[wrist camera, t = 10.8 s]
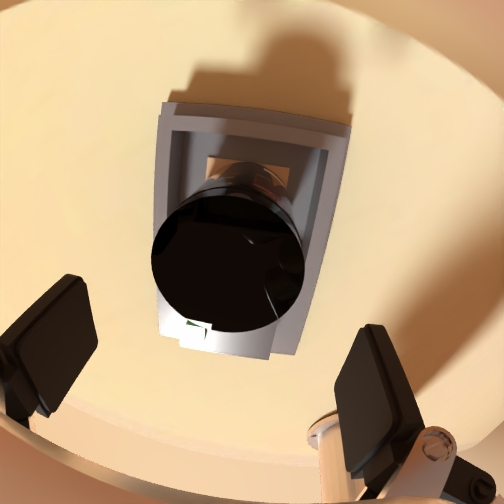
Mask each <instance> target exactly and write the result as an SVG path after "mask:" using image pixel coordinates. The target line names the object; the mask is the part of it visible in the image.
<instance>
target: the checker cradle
mask: <svg viewBox="0 0 504 504" xmlns="http://www.w3.org/2000/svg"><path fill="white" fill-rule="evenodd" d="M350 132H351V126H348V125H344V124H340V123H336V122H331V121H327V120H322V119H317V118H312V117H307V116H301V115H296V114H290V113H284V112H277V111H270V110H263V109H255V108H247V107H238V106H228V105H216V104H201V103H178V102H162V110H161V115H159V119H158V130H157V143H156V158H155V178H154V222H153V231H154V239H155V236H156V234H157V232H158V230H159V228H160V227H161V225H162V224H163V222H164V221H165V220H166V219H167V218H168V217H169V216H170V215H171V214H172V213H173V211H174V210H175V209H176V208H177V207H178V206H179V205H180V204H181V203H182V202H183V201H184V200H185V199H187V198H188V197H190V196H191V195H192V194H193V193H194V192H195V191H196V190H197V189H198V188H199V187H200V186H201V185H202V184H203V183H204V182H205V181H206V180H207V179H208V178H209V177H210V176H211V175H212V174H214V173H215V172H216V171H217V170H219V169H220V168H222V167H224V166H226V165H228V164H232V163H236V162H252V163H256V164H260V165H262V166H264V167H266V168H268V169H270V170H271V171H273V172H274V173H275V174H276V175H277V176H278V177H279V178H280V179H281V180H282V182H283V183H284V185H285V187H286V189H287V191H288V195H289V198H290V202H291V207H292V211H293V215H294V219H295V223H296V228H297V230H298V233H299V236H300V239H301V244H302V251H303V256H304V262H305V276H304V282H303V286H302V289H301V292H300V294H299V296H298V298H297V300H296V301H295V303H294V304H293V305H292V307H291V308H290V309H289V310H288V311H287V312H286V313H285V314H284V315H283V316H282V317H280V318H279V319H278V320H276V321H275V322H273V323H271V324H269V325H267V326H265V327H262V328H259V329H256V330H252V331H248V332H238V333H228V332H219V331H214V330H210V329H207V328H204V327H201V326H199V325H197V324H194V323H192V322H191V321H189V320H187V319H186V318H184V317H183V316H181V315H180V314H179V313H178V312H176V311H175V310H174V309H173V308H172V307H171V306H170V305H169V303H168V302H167V301H166V300H165V298H164V297H163V296H162V294H161V292H160V291H159V289H158V287H157V302H158V317H159V330H160V335H164V336H169V337H174V338H179V339H180V346H181V347H186V348H191V349H197V350H202V351H208V352H214V353H220V354H227V355H233V356H240V357H248V358H255V359H264V360H269V356H270V353H277V354H286V355H295V353H296V350H297V346H298V343H299V340H300V337H301V334H302V331H303V327H304V324H305V321H306V317H307V314H308V311H309V307H310V304H311V300H312V297H313V293H314V290H315V286H316V283H317V279H318V275H319V272H320V268H321V264H322V260H323V257H324V253H325V249H326V245H327V241H328V237H329V233H330V229H331V224H332V220H333V216H334V212H335V207H336V203H337V198H338V194H339V189H340V184H341V179H342V175H343V170H344V165H345V159H346V154H347V149H348V143H349V138H350Z"/></svg>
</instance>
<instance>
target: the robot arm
mask: <svg viewBox="0 0 504 504" xmlns="http://www.w3.org/2000/svg"><path fill="white" fill-rule="evenodd" d="M97 345H98V338H97V334H96V330H95V325H94V321H93V316H92V311H91V306H90V301H89V296H88V290H87V285H86V283H85V282H84V281H83V279H82V277H80V276H76V275H72V274H66V275H64V276H63V277H62V278H61V279H60V280H59V281H58V282H56V283H55V284H54V285H53V286H52V287H51V288H50V289H49V290H48V291H46V292H45V293H44V294H43V295H42V296H41V297H40V298H39V299H38V300H37V301H36V302H35V303H33V304H32V305H31V306H30V307H29V308H28V309H27V310H26V311H25V312H24V313H23V314H22V315H21V316H20V317H19V318H18V319H17V320H16V321H15V322H14V323H13V324H12V325H11V326H10V327H9V328H8V329H7V330H6V331H5V332H4V333H3V334H2V335H1V336H0V504H287V503H264V502H251V501H241V500H233V499H226V498H219V497H212V496H207V495H201V494H196V493H191V492H186V491H182V490H177V489H173V488H169V487H165V486H161V485H158V484H154V483H151V482H147V481H144V480H140V479H138V478H134V477H131V476H128V475H126V474H122V473H120V472H117V471H114V470H112V469H109V468H106V467H104V466H101V465H99V464H96V463H94V462H92V461H89V460H87V459H85V458H82V457H80V456H78V455H76V454H74V453H71V452H69V451H68V450H66V449H64V448H62V447H60V446H58V445H56V444H54V443H52V442H50V441H48V440H46V439H45V438H43V437H41V436H39V435H38V434H36V430H35V424H34V419H33V413H34V411H35V410H36V411H37V413H39V414H41V415H43V416H45V417H46V418H49V416H50V415H51V413H54V412H55V411H56V410H57V409H58V407H59V405H60V404H61V402H62V401H63V399H64V397H65V396H66V394H67V393H68V391H69V389H70V388H71V386H72V385H73V383H74V381H75V380H76V378H77V377H78V375H79V374H80V372H81V371H82V369H83V368H84V366H85V365H86V363H87V362H88V360H89V359H90V357H91V356H92V354H93V353H94V351H95V350H96V348H97ZM334 393H335V399H336V405H337V411H338V413H337V414H334V415H331V416H329V417H326V418H324V419H322V420H321V421H319V422H317V423H316V424H315V425H314V426H312V427H311V428H310V430H309V431H308V434H307V442H308V444H309V445H310V446H311V447H312V448H314V449H316V450H319V463H320V474H321V475H320V477H321V492H322V503H317V504H504V498H502V496H501V495H500V494H498V495H497V496H495V494H496V484H495V481H494V479H493V478H492V476H491V475H489V474H488V473H487V472H485V471H483V470H481V469H480V468H478V467H476V466H474V465H472V464H471V463H469V462H467V461H466V460H464V459H462V458H460V457H458V456H457V455H456V452H457V445H456V441H455V439H454V437H453V436H452V435H451V434H450V432H448V431H447V430H445V429H444V428H441V427H438V426H431V427H427V428H425V425H424V422H423V419H422V416H421V414H420V411H419V408H418V405H417V403H416V400H415V398H414V395H413V392H412V390H411V387H410V385H409V382H408V380H407V377H406V375H405V372H404V370H403V368H402V365H401V363H400V361H399V358H398V356H397V354H396V351H395V349H394V347H393V344H392V342H391V340H390V338H389V336H388V333H387V331H386V329H385V327H384V326H383V325H376V324H366V325H365V327H364V328H360V329H359V331H358V333H357V336H356V338H355V340H354V343H353V345H352V347H351V349H350V352H349V354H348V356H347V358H346V361H345V363H344V365H343V367H342V369H341V371H340V373H339V375H338V377H337V379H336V382H335V386H334ZM312 504H316V503H312Z"/></svg>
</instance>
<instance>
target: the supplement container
mask: <svg viewBox="0 0 504 504" xmlns="http://www.w3.org/2000/svg"><path fill="white" fill-rule="evenodd" d="M151 265H152V272H153V276H154V279H155V282H156V284H157V287H158V289H159V291H160V292H161V294H162V296H163V297H164V298H165V300H166V301H167V302H168V303H169V305H170V306H171V307H172V308H173V309H174V310H175V311H176V312H178V313H179V314H180V315H181V316H183V317H184V318H186V319H187V320H189V321H191V322H192V323H194V324H197V325H199V326H201V327H204V328H207V329H210V330H214V331H219V332H228V333H238V332H248V331H252V330H256V329H259V328H262V327H265V326H267V325H269V324H271V323H273V322H275V321H276V320H278V319H279V318H280V317H282V316H283V315H284V314H285V313H286V312H287V311H288V310H289V309H290V308H291V307H292V305H293V304H294V303H295V301H296V300H297V298H298V296H299V294H300V292H301V289H302V286H303V282H304V276H305V262H304V256H303V251H302V244H301V239H300V236H299V233H298V230H297V228H296V223H295V219H294V215H293V211H292V207H291V202H290V198H289V195H288V191H287V189H286V187H285V185H284V183H283V182H282V180H281V179H280V178H279V177H278V176H277V175H276V174H275V173H274V172H273V171H271V170H270V169H268V168H266V167H264V166H262V165H260V164H256V163H252V162H236V163H232V164H228V165H226V166H224V167H222V168H220V169H219V170H217V171H216V172H215V173H214V174H212V175H211V176H210V177H209V178H208V179H207V180H206V181H205V182H204V183H203V184H202V185H201V186H200V187H199V188H198V189H197V190H196V191H195V192H194V193H193V194H192V195H191V196H190V197H188V198H187V199H185V200H184V201H183V202H182V203H181V204H180V205H179V206H178V207H177V208H176V209H175V210H174V211H173V213H172V214H171V215H170V216H169V217H168V218H167V219H166V220H165V221H164V222H163V224H162V225H161V227H160V228H159V230H158V232H157V234H156V236H155V239H154V242H153V246H152V253H151Z"/></svg>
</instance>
